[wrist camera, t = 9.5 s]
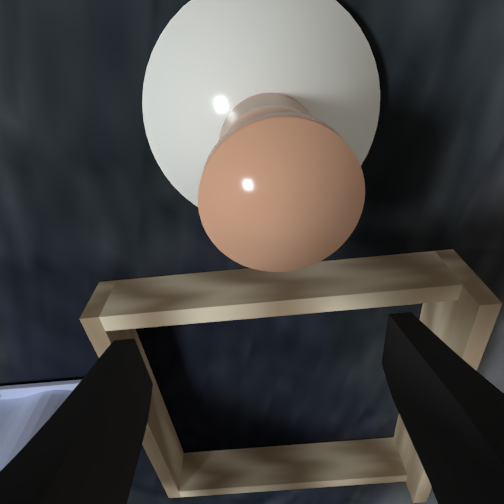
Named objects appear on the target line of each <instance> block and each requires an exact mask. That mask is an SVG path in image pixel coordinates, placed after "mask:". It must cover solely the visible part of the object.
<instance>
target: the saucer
mask: <svg viewBox="0 0 504 504" xmlns="http://www.w3.org/2000/svg"><path fill="white" fill-rule="evenodd" d="M261 93H279V94H284V95H287V96H289V97H291V98H293V99H295V100H297V101H298V102H299V103H301V104H302V105H303V106H304V107H305V108H306V109H307V110H308V112H309V113H310V114H311V116H312V117H314V118H316V119H318V120H320V121H322V122H324V123H325V124H327V125H328V126H330V127H331V128H332V129H334V130H335V131H336V132H337V133H338V134H339V135H340V136H341V137H342V138H343V140H344V141H345V142H346V143H347V144H348V145H349V147H350V148H351V149H352V151H353V152H354V154H355V155H356V157H357V159H358V161H359V163H360V166H361V165H362V163H363V161H364V160H365V158H366V156H367V154H368V152H369V149H370V147H371V144H372V142H373V139H374V135H375V132H376V128H377V124H378V118H379V111H380V85H379V75H378V71H377V67H376V62H375V59H374V56H373V53H372V51H371V48H370V45H369V43H368V41H367V39H366V37H365V36H364V34H363V32H362V30H361V28H360V27H359V25H358V24H357V23H356V21H355V20H354V19H353V18H352V16H351V15H350V14H349V12H347V11H346V10H345V9H344V8H343V7H342V6H341V5H340V4H339V3H338V2H337V1H336V0H191V1H189V2H188V3H187V4H186V5H184V6H183V7H182V8H181V9H180V10H179V12H178V13H177V14H176V15H175V16H174V17H173V18H172V19H171V20H170V22H169V23H168V25H167V26H166V28H165V29H164V31H163V32H162V33H161V35H160V37H159V39H158V41H157V43H156V45H155V47H154V49H153V51H152V54H151V57H150V60H149V63H148V66H147V69H146V74H145V79H144V84H143V98H142V106H143V120H144V125H145V130H146V135H147V138H148V141H149V144H150V147H151V150H152V152H153V155H154V157H155V159H156V161H157V163H158V165H159V166H160V168H161V170H162V171H163V173H164V174H165V176H166V177H167V179H168V180H169V181H170V182H171V184H172V185H173V186H174V187H175V188H176V189H177V190H178V191H179V192H180V193H181V194H182V195H183V196H184V197H185V198H186V199H188V200H189V201H190V202H192V203H193V204H194V205H196V206H197V207H198V190H199V184H200V180H201V176H202V172H203V169H204V165H205V163H206V161H207V158H208V156H209V154H210V153H211V151H212V149H213V148H214V146H215V145H216V144H217V143H218V141H219V135H220V131H221V128H222V125H223V123H224V121H225V119H226V117H227V116H228V114H229V113H230V112H231V110H232V109H233V108H234V107H235V106H236V105H237V104H239V103H240V102H242V101H243V100H245V99H247V98H248V97H251V96H253V95H256V94H261Z"/></svg>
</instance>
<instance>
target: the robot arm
mask: <svg viewBox="0 0 504 504" xmlns="http://www.w3.org/2000/svg"><path fill="white" fill-rule="evenodd" d="M382 365H383V369H384V372H385V375H386V379H387V382H388V385H389V388H390V391H391V394H392V398H393V400H394V402H395V405H396V407H397V409H398V412H399V414H400V416H401V419H402V421H403V423H404V425H405V428H406V430H407V432H408V434H409V437H410V439H411V441H412V443H413V446H414V448H415V450H416V452H417V455H418V457H419V459H420V461H421V464H422V466H423V468H424V470H425V473H426V475H427V477H428V479H429V482H430V484H431V487H432V489H433V492H434V494H435V497H436V499H437V502H438V504H504V393H502V392H501V391H500V390H499V389H497V388H496V387H495V386H494V385H493V384H491V383H490V382H489V381H488V380H487V379H485V378H484V377H483V376H482V375H481V374H480V373H478V372H477V371H476V370H475V369H474V368H472V367H471V366H470V365H469V364H468V363H467V362H465V361H464V360H463V359H462V358H461V357H460V356H459V355H458V354H456V353H455V352H454V351H453V350H452V349H451V348H450V347H449V346H448V345H446V344H445V343H444V342H443V341H442V340H441V339H440V338H439V337H438V336H437V335H435V334H434V333H433V332H432V331H431V330H430V329H429V328H428V327H427V326H426V325H425V324H424V323H422V322H421V321H420V320H419V319H418V318H417V317H416V316H415V315H414V314H413V313H411V312H408V313H397V314H389V316H388V323H387V331H386V338H385V345H384V352H383V359H382ZM152 388H153V383H152V380H151V378H150V375H149V373H148V370H147V368H146V365H145V363H144V361H143V358H142V356H141V353H140V351H139V348H138V346H137V343H136V341H135V338H134V339H123V340H114V341H113V342H112V343H111V344H110V346H109V347H108V348H107V349H106V350H105V352H104V353H103V354H102V355H101V356H100V358H99V359H98V360H97V361H96V363H95V364H94V365H93V366H92V368H91V369H90V370H89V371H88V373H87V374H86V375H85V376H84V378H83V379H80V380H68V381H56V382H44V383H32V384H20V385H8V386H0V504H127V500H128V496H129V493H130V489H131V485H132V481H133V477H134V473H135V470H136V466H137V462H138V458H139V454H140V450H141V446H142V442H143V439H144V435H145V431H146V427H147V422H148V418H149V411H150V404H151V396H152Z"/></svg>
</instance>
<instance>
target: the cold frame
mask: <svg viewBox="0 0 504 504" xmlns="http://www.w3.org/2000/svg"><path fill="white" fill-rule="evenodd" d="M420 303H423V306H422V310H421V315H420V319H419V320H420V321H421V322H422V323H424V324H425V325H426V326H427V327H428V328H429V329H430V330H431V331H432V332H433V333H434V334H435V335H437V336H438V337H439V338H440V339H441V340H442V341H443V342H444V343H445V344H446V345H448V346H449V347H450V348H451V349H452V350H453V351H454V352H455V353H456V354H458V355H459V356H460V357H461V358H462V359H463V360H464V361H465V362H467V363H468V364H469V365H470V366H471V367H472V368H474V369H475V370H476V371H477V369H478V366H479V364H480V361H481V358H482V356H483V353H484V351H485V348H486V345H487V343H488V340H489V337H490V335H491V332H492V330H493V327H494V324H495V322H496V319H497V317H498V314H499V311H500V309H501V306H502V304H503V303H502V302H501V301H500V300H499V299H498V298H497V297H496V296H495V295H494V294H493V292H492V291H491V290H490V289H489V288H488V287H487V286H486V285H485V284H484V283H483V282H482V280H481V279H480V278H479V277H478V276H477V275H476V274H475V273H474V272H473V271H472V269H471V268H470V267H469V266H468V265H467V264H466V263H465V262H464V261H463V260H462V258H461V257H460V256H459V255H458V254H457V253H456V252H455V251H454V250H453V249H449V250H438V251H427V252H416V253H406V254H395V255H384V256H373V257H363V258H352V259H341V260H330V261H320V262H318V263H316V264H313V265H311V266H308V267H305V268H302V269H298V270H293V271H287V272H267V271H260V270H256V269H252V268H244V269H234V270H223V271H212V272H201V273H191V274H180V275H169V276H158V277H148V278H137V279H126V280H115V281H105V282H99V284H98V286H97V287H96V289H95V291H94V293H93V295H92V297H91V298H90V300H89V302H88V304H87V306H86V308H85V309H84V311H83V313H82V315H81V317H80V321H81V323H82V325H83V327H84V329H85V331H86V333H87V335H88V337H89V339H90V341H91V343H92V345H93V347H94V349H95V351H96V353H97V355H98V357H99V358H100V356H101V355H102V354H103V353H104V352H105V350H106V349H107V348H108V347H109V346H110V344H111V343H112V342H113V341H114V340H123V339H134V338H135V341H136V343H137V346H138V348H139V351H140V353H141V356H142V358H143V361H144V363H145V365H146V368H147V370H148V373H149V375H150V378H151V380H152V383H153V388H152V396H151V404H150V411H149V418H148V422H147V427H146V431H145V435H144V439H143V442H142V445H143V447H144V449H145V451H146V453H147V455H148V457H149V459H150V461H151V463H152V465H153V467H154V469H155V471H156V473H157V475H158V477H159V479H160V481H161V483H162V485H163V487H164V489H165V491H166V493H167V495H168V497H169V498H176V497H190V496H205V495H219V494H233V493H247V492H261V491H276V490H290V489H304V488H318V487H332V486H347V485H361V484H375V483H389V482H404V481H406V484H407V487H408V490H409V493H410V496H411V499H412V501H413V503H419V502H427V499H428V496H429V494H430V491H431V489H432V487H431V484H430V482H429V479H428V477H427V475H426V473H425V470H424V468H423V466H422V464H421V461H420V459H419V457H418V455H417V452H416V450H415V448H414V446H413V443H412V441H411V439H410V437H409V434H408V432H407V430H406V428H405V425H404V423H403V421H402V419H401V416H400V414H399V415H398V419H397V424H396V428H395V433H394V437H390V438H377V439H364V440H350V441H337V442H324V443H310V444H297V445H283V446H270V447H257V448H243V449H230V450H217V451H203V452H190V453H184V452H183V449H182V447H181V444H180V442H179V439H178V437H177V434H176V431H175V429H174V426H173V424H172V421H171V419H170V416H169V414H168V411H167V408H166V406H165V403H164V401H163V398H162V396H161V393H160V390H159V388H158V385H157V383H156V380H155V378H154V375H153V373H152V370H151V367H150V365H149V362H148V360H147V357H146V355H145V352H144V350H143V347H142V344H141V342H140V339H139V337H138V334H137V332H136V328H148V327H159V326H170V325H182V324H193V323H204V322H216V321H227V320H239V319H250V318H261V317H273V316H284V315H295V314H307V313H318V312H329V311H341V310H352V309H364V308H375V307H386V306H398V305H409V304H420Z"/></svg>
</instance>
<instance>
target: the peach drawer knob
mask: <svg viewBox="0 0 504 504" xmlns="http://www.w3.org/2000/svg"><path fill="white" fill-rule="evenodd" d="M364 200H365V181H364V176H363V172H362V169H361V166H360V163H359V161H358V159H357V157H356V155H355V154H354V152H353V151H352V149H351V148H350V147H349V145H348V144H347V143H346V142H345V141H344V140H343V138H342V137H341V136H340V135H339V134H338V133H337V132H336V131H335V130H334V129H332V128H331V127H330V126H328V125H327V124H325V123H324V122H322V121H320V120H318V119H316V118H314V117H312V116H311V114H310V113H309V112H308V110H307V109H306V108H305V107H304V106H303V105H302V104H301V103H299V102H298V101H297V100H295V99H293V98H291V97H289V96H287V95H284V94H279V93H261V94H256V95H253V96H251V97H248V98H247V99H245V100H243V101H242V102H240V103H239V104H237V105H236V106H235V107H234V108H233V109H232V110H231V112H230V113H229V114H228V116H227V117H226V119H225V121H224V123H223V125H222V128H221V131H220V135H219V141H218V143H217V144H216V145H215V146H214V148H213V149H212V151H211V153H210V154H209V156H208V158H207V161H206V163H205V165H204V169H203V172H202V176H201V180H200V184H199V190H198V209H199V215H200V218H201V221H202V225H203V227H204V229H205V231H206V233H207V235H208V236H209V238H210V239H211V241H212V242H213V243H214V244H215V246H216V247H217V248H218V249H219V250H220V251H221V252H222V253H224V254H225V255H226V256H227V257H229V258H230V259H232V260H233V261H235V262H237V263H239V264H241V265H244V266H246V267H249V268H252V269H256V270H260V271H267V272H287V271H293V270H298V269H302V268H305V267H308V266H311V265H313V264H316V263H318V262H319V261H321V260H323V259H325V258H326V257H328V256H329V255H331V254H332V253H334V252H335V251H336V250H337V249H338V248H339V247H341V245H342V244H343V243H344V242H345V241H346V240H347V239H348V238H349V236H350V235H351V233H352V232H353V230H354V229H355V227H356V225H357V223H358V221H359V219H360V216H361V214H362V210H363V206H364Z"/></svg>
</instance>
